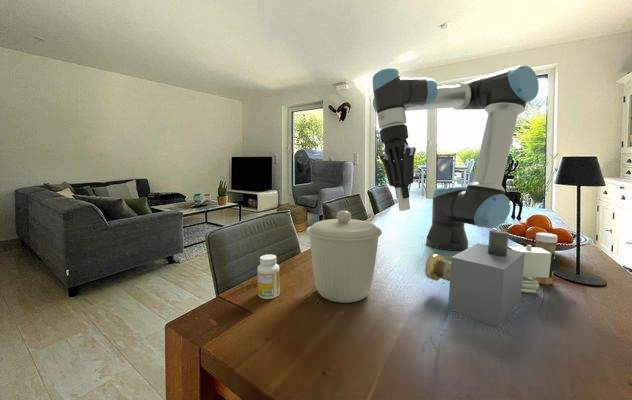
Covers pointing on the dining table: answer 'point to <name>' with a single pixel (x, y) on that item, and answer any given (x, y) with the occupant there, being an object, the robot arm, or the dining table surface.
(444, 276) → the knob
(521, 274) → the block
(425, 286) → the dining table surface
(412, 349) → the dining table surface
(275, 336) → the dining table surface
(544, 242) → the sprinkles bottle
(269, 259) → the supplement bottle
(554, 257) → the pneumatic valve
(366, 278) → the canister
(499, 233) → the grey upright block
